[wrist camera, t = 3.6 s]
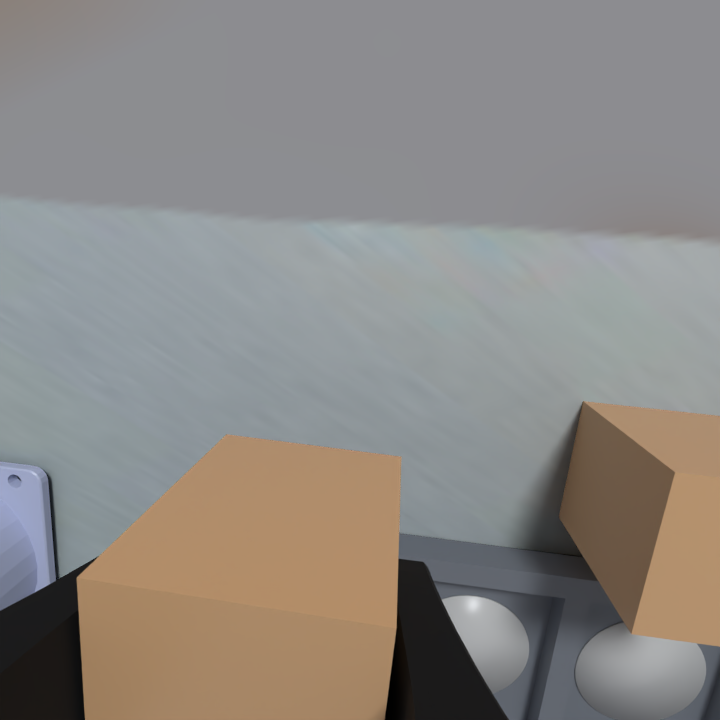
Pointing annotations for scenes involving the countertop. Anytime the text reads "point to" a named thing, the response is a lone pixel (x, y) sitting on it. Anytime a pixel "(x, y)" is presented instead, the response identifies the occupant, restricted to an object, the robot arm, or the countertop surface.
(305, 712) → the block
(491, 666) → the tray
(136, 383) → the countertop surface
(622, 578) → the block
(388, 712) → the robot arm
